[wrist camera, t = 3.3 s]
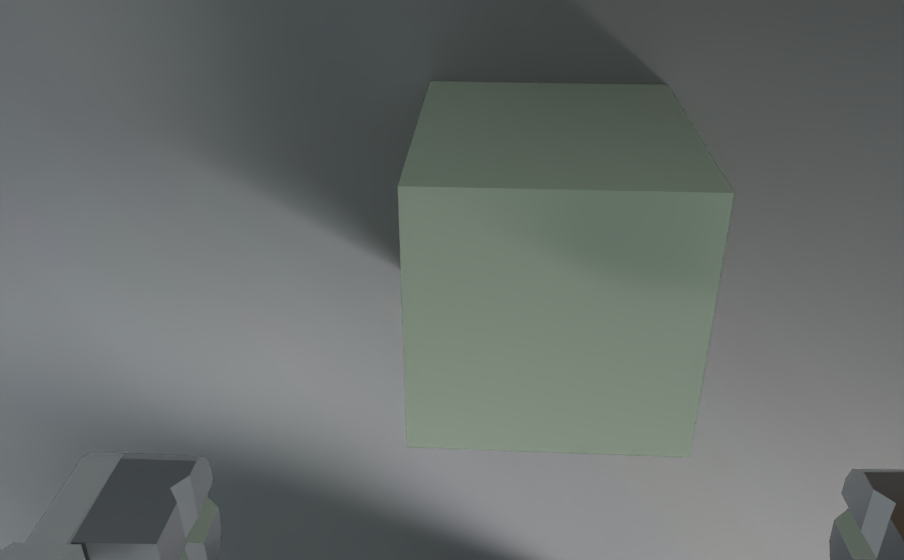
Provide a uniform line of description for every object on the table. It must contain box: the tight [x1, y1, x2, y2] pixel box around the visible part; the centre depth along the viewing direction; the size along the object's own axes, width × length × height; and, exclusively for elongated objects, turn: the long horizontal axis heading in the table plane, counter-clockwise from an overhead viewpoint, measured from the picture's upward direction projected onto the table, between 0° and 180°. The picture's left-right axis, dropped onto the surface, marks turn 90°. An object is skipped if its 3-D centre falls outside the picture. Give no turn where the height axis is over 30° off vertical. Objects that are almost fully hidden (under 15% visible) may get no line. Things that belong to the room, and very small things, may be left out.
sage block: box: [398, 81, 735, 457], centre depth 16 cm, size 5×5×6 cm
